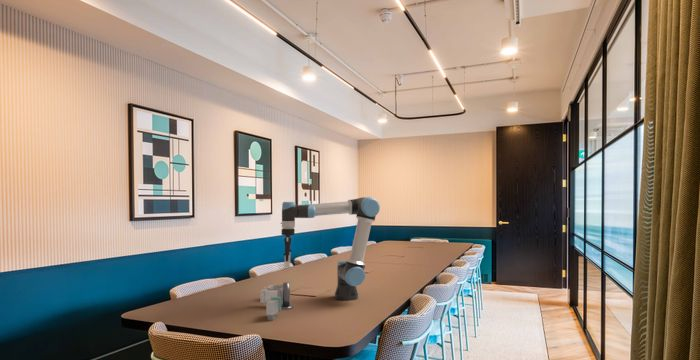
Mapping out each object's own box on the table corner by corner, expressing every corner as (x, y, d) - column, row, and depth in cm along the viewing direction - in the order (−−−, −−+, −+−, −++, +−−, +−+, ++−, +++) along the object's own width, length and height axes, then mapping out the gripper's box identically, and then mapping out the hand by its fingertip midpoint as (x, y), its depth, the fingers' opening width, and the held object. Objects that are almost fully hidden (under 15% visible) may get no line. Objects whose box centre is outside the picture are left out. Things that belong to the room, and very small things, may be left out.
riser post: (281, 305, 238) (281, 281, 238) (294, 306, 236) (295, 281, 237) (277, 309, 230) (277, 284, 231) (290, 309, 229) (290, 284, 229)
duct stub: (272, 315, 218) (272, 296, 219) (281, 315, 217) (281, 296, 218) (265, 320, 208) (265, 301, 208) (274, 321, 207) (274, 301, 208)
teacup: (286, 297, 258) (287, 284, 258) (282, 301, 247) (282, 288, 248) (265, 296, 259) (265, 284, 260) (260, 301, 249) (260, 287, 249)
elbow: (283, 304, 236) (283, 288, 237) (280, 306, 231) (280, 290, 232) (263, 303, 238) (263, 288, 239) (260, 305, 233) (260, 289, 234)
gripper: (282, 226, 247) (282, 261, 246) (280, 229, 223) (279, 268, 222) (295, 226, 248) (294, 261, 247) (294, 229, 224) (293, 268, 222)
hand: (287, 265), depth 234 cm, fingers open, 13 cm apart
